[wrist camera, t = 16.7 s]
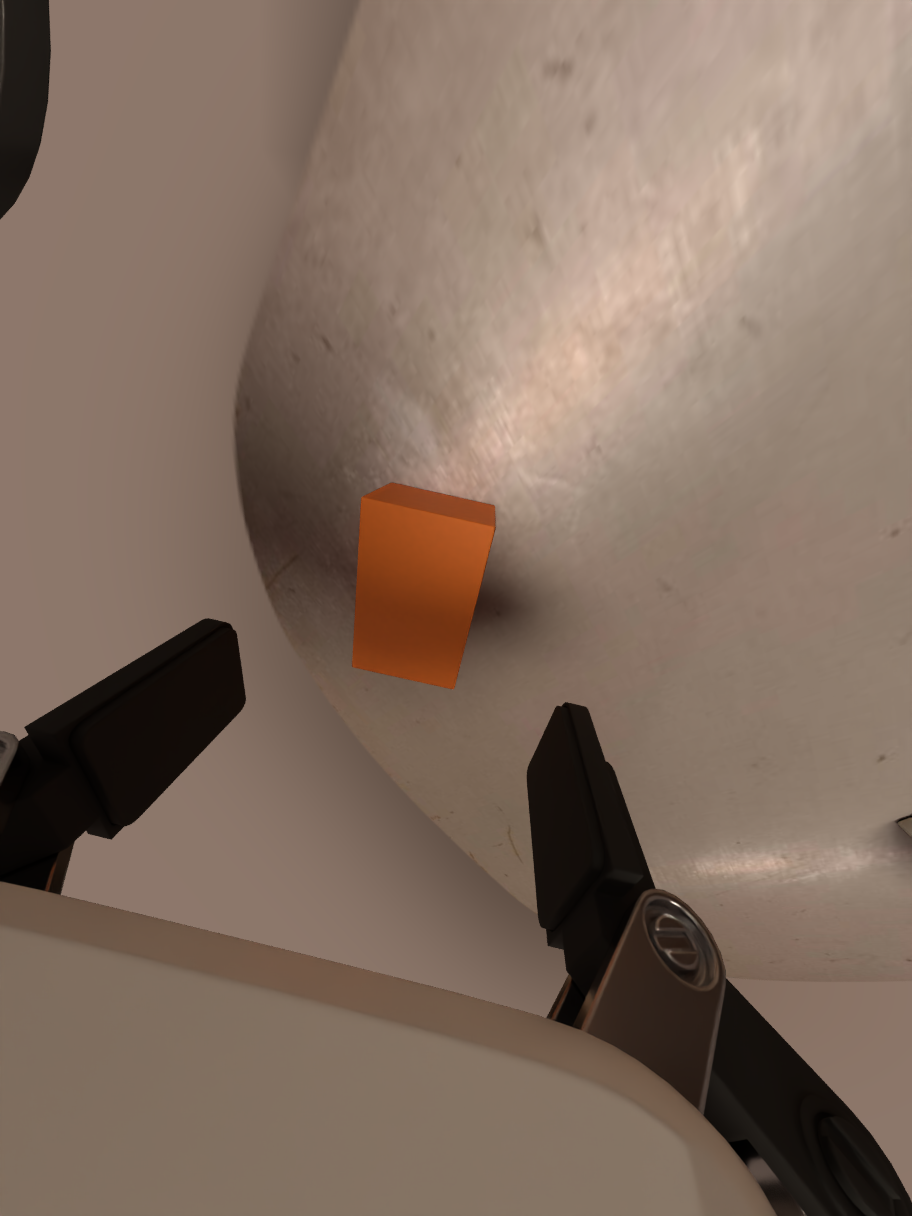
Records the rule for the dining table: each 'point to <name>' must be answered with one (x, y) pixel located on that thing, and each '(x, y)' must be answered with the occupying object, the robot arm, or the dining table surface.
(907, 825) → the coffee box
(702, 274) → the dining table surface
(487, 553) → the block
